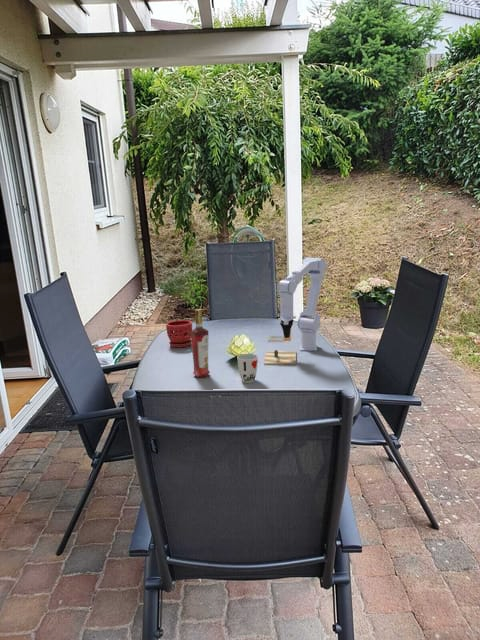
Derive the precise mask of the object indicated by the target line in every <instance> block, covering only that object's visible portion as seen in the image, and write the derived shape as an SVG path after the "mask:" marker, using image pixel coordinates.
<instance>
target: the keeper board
mask: <svg viewBox="0 0 480 640" xmlns="http://www.w3.org/2000/svg"><path fill="white" fill-rule="evenodd" d="M263 365H265V366H268V365H269V366H270V365H271V366H272V365H273V366H274V365H275V366H296V365H297V351H296V350H277V349H275V350H266V351H265V357H264V361H263Z"/></svg>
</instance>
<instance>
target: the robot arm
mask: <svg viewBox="0 0 480 640" xmlns="http://www.w3.org/2000/svg"><path fill="white" fill-rule="evenodd" d="M326 271H327V261H326V259H325V258H324V257H310V256H308V257H307V256H306V257H304V259H302V264H301V265H300V266H299V268H298V269H297V270H292V271H291V273H290V274H288V276H287V277H286V278H285V279H281V280H280V281H279V282H278V283H277V287H276V288H277V292H278V296H279V297H280V298H279V299H280V301H279V303H280V304H279V305H280V309H279V310H280V312H279V314H280V316H279V319H280V323H279V324H280V326H281V328H282V333H283V336H284V338H289V336H290V330H291V331H292V327H293V325H294V321H295V319H296V318H297V316H296V315H294V293H295V292H296V289H297V287H298V285H299V284H300V283H301V282H302V281H303V278H304V276H305V275H306V274H307V275H308V276H309V277H310V278H311V279H310V285H309V289H308V294H307V300H306V305H305V309H304V310H302V311H301V312H300V313H299V316H298V319H297V321H296V325H297V328H298V330H299V331H300V345H299V348H300V349H299V350H300V351H315V352H317V351H318V346H317V332H318V330H319V329H320V328H321V327H320V326H321V316H320V315H319V313H317V308H318V304H319V297H320V293H321V287H322V282H323V279H324V277H325V276H326Z"/></svg>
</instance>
